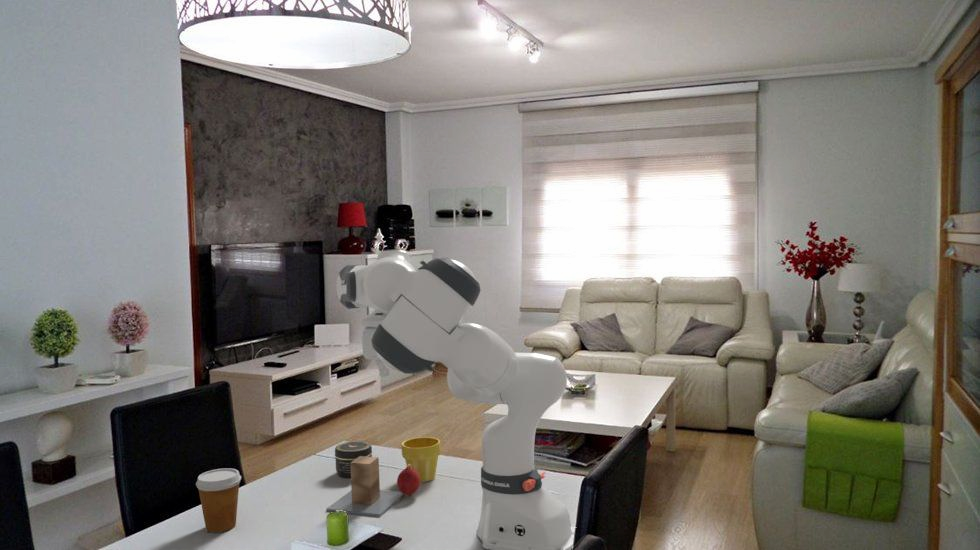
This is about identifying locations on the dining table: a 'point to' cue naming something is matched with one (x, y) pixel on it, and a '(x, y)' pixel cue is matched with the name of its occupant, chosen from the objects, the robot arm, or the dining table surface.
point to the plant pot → (422, 455)
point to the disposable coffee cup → (219, 498)
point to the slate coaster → (375, 509)
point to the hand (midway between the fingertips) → (397, 372)
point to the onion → (408, 481)
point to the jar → (350, 456)
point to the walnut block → (365, 480)
